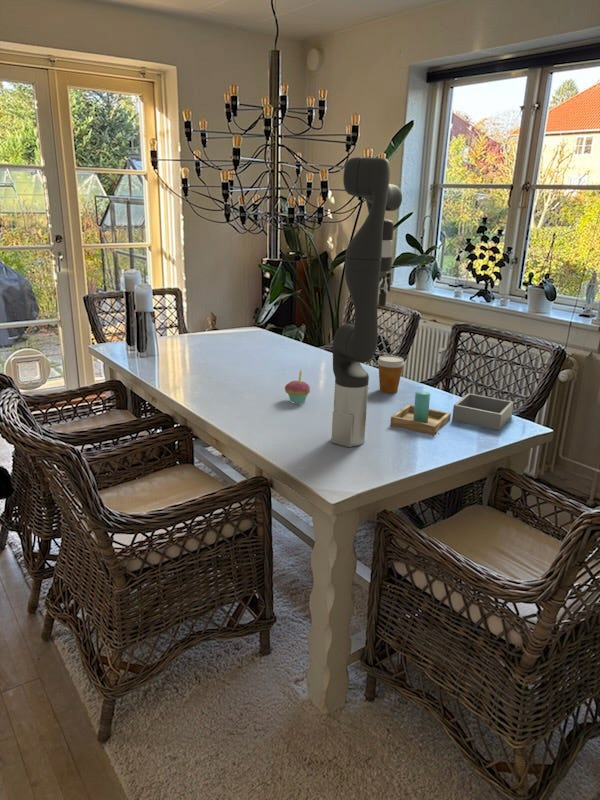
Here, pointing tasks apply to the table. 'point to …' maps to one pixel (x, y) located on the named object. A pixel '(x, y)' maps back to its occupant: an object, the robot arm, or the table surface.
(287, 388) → the cupcake
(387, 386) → the disposable coffee cup
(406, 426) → the tray
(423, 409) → the peg
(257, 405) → the table surface
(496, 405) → the deep bin
